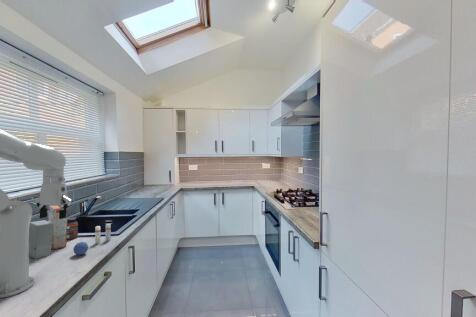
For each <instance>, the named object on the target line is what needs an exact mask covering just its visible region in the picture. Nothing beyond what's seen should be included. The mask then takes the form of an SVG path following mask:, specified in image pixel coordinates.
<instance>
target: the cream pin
mask: <svg viewBox="0 0 476 317" xmlns="http://www.w3.org/2000/svg"><path fill="white" fill-rule="evenodd" d="M94 229H95V230H94V232H95V235H94V237H95V238H94V244H95V245H99V244H101V231H102V230H101V226H100V225H96V226H95V228H94Z"/></svg>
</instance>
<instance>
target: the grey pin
mask: <svg viewBox="0 0 476 317" xmlns="http://www.w3.org/2000/svg"><path fill="white" fill-rule="evenodd" d="M111 228H112V227H111V223H107V224H105V242H110V241H111V231H112V230H111Z"/></svg>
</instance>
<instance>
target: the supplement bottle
mask: <svg viewBox="0 0 476 317" xmlns="http://www.w3.org/2000/svg"><path fill="white" fill-rule="evenodd" d="M78 227H79V223H78V221H77V218H76V217H70V218H67V226H66V241H67V240H75V239H77V238H78V237H79V236H78V235H79V228H78Z"/></svg>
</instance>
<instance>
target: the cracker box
mask: <svg viewBox="0 0 476 317" xmlns="http://www.w3.org/2000/svg"><path fill="white" fill-rule="evenodd" d="M62 206H63V205H62ZM59 210H61V209H60V208H59V206H48V221H49V222H51V223H53V228H52V242H51V249H53V250H57V249H61V248H66V247H67V239H66V226H67V222H68V218H67V216H68V215H67V214H68V212H67V211H68V209H66V218H63V219H59Z"/></svg>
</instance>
